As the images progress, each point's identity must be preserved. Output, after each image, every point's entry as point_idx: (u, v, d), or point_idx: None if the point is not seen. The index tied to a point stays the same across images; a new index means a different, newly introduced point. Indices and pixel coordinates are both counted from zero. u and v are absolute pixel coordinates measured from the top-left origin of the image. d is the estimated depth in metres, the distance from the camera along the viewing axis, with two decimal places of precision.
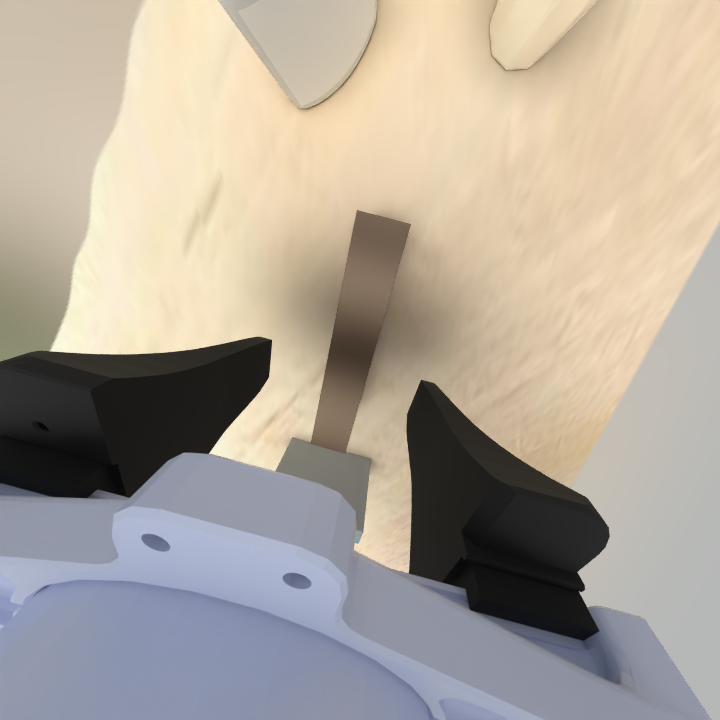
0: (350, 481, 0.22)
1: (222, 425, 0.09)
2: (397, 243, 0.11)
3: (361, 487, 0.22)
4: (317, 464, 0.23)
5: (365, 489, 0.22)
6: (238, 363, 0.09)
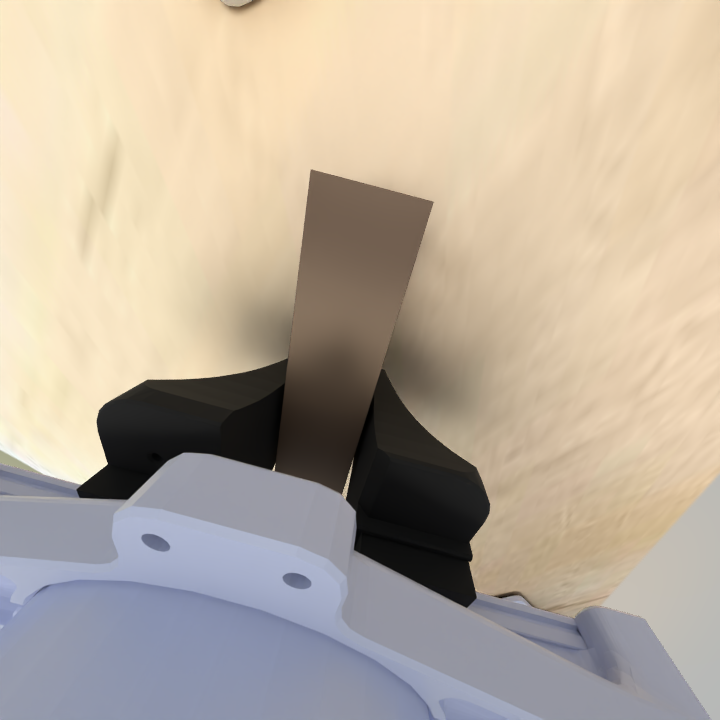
0: None
1: None
2: (402, 244, 0.05)
3: None
4: None
5: None
6: None
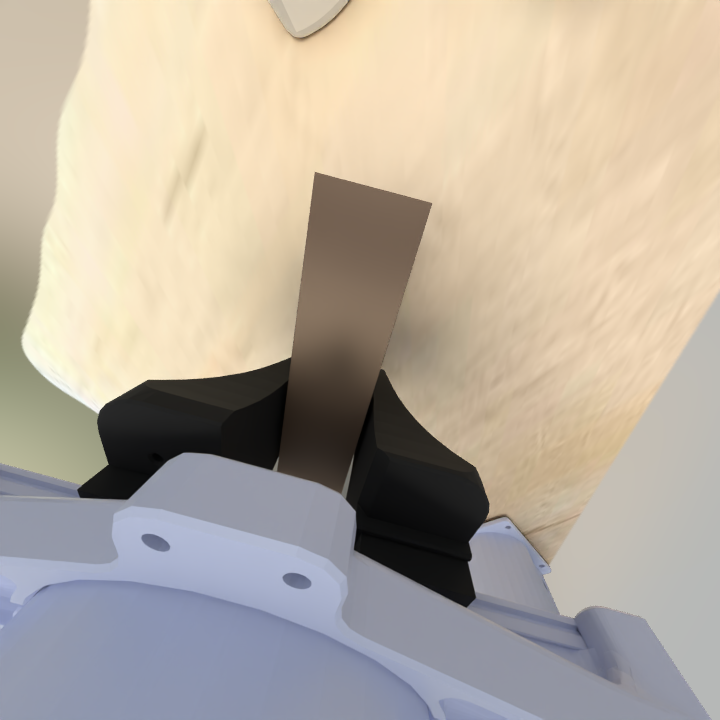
0: None
1: None
2: (402, 243, 0.05)
3: None
4: None
5: None
6: None
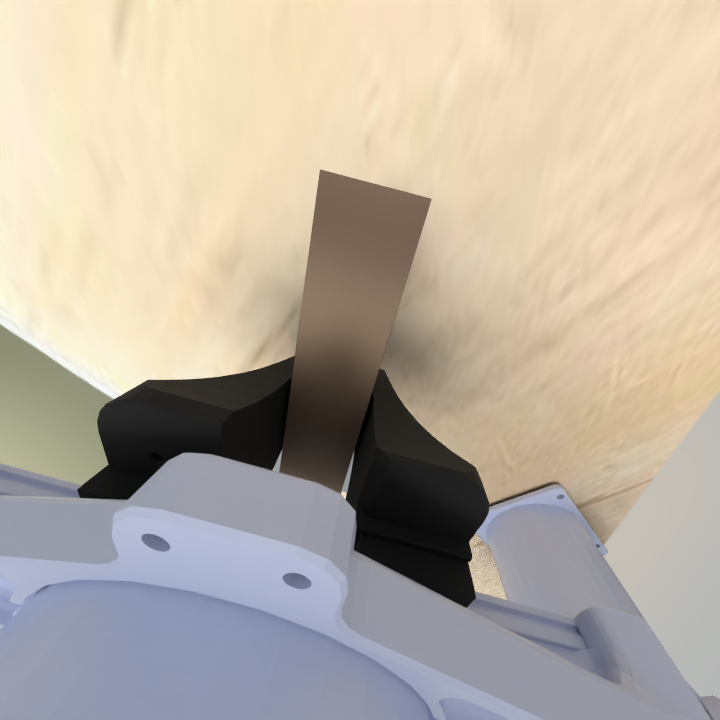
0: None
1: (282, 441, 0.09)
2: (403, 238, 0.06)
3: None
4: None
5: None
6: None
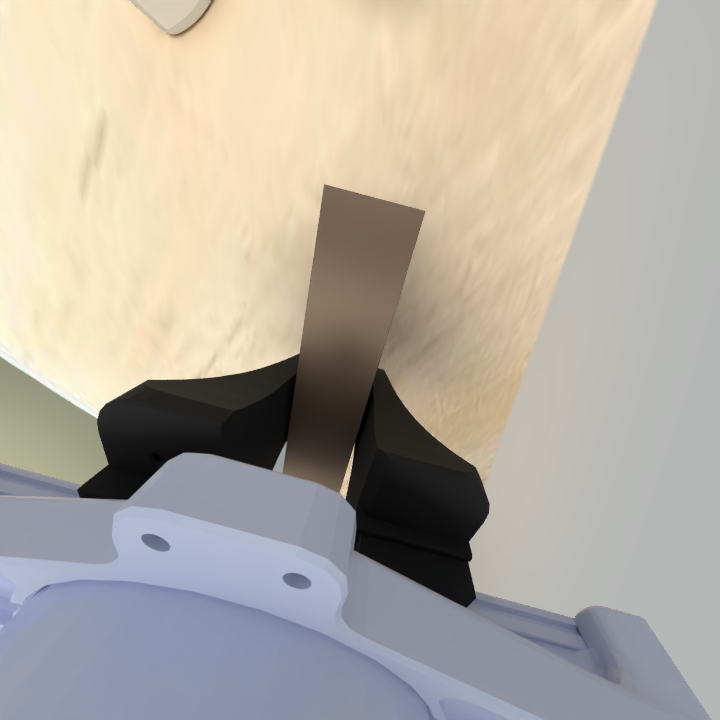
0: None
1: (282, 441, 0.09)
2: (399, 246, 0.06)
3: (282, 467, 0.26)
4: None
5: None
6: None
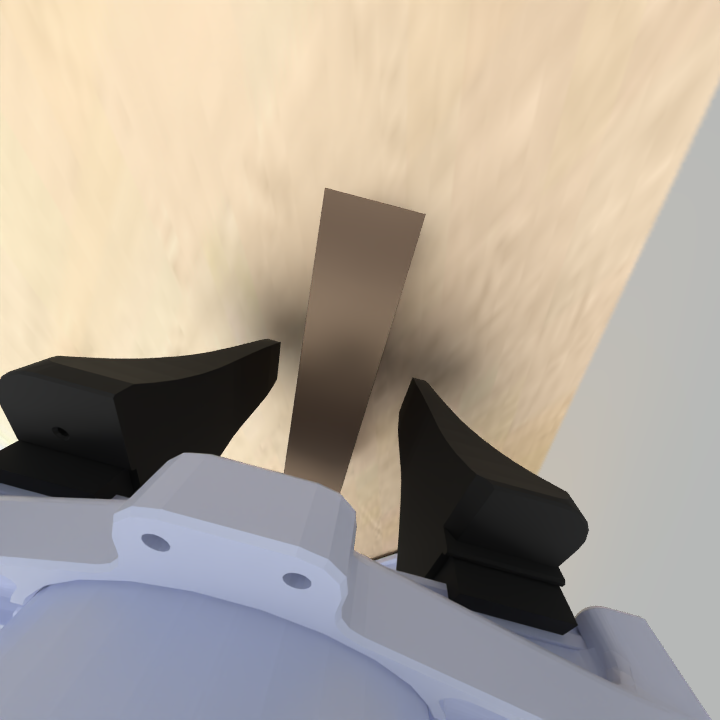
0: None
1: (232, 427, 0.09)
2: (400, 248, 0.06)
3: None
4: None
5: None
6: (249, 366, 0.09)
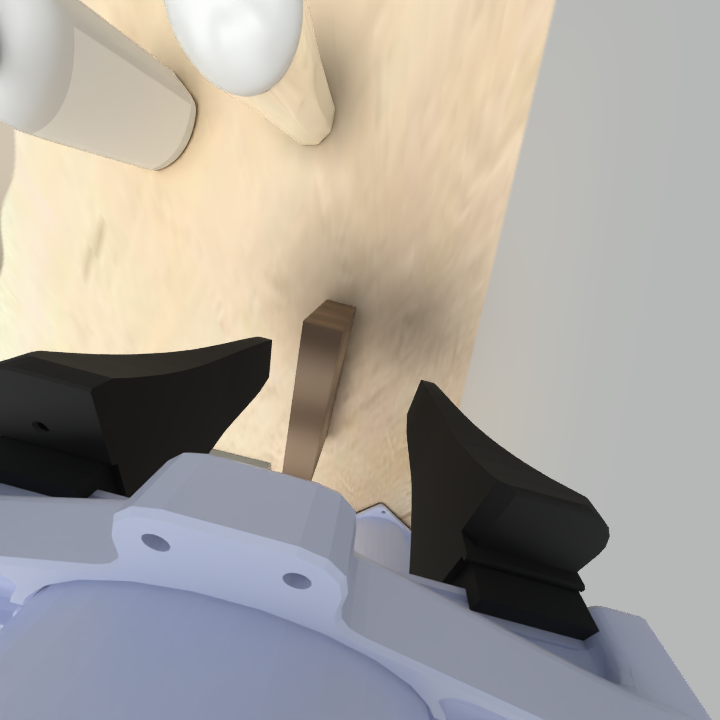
0: None
1: (222, 424, 0.09)
2: (334, 342, 0.15)
3: None
4: None
5: None
6: (238, 363, 0.09)
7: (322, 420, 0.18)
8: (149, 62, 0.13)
